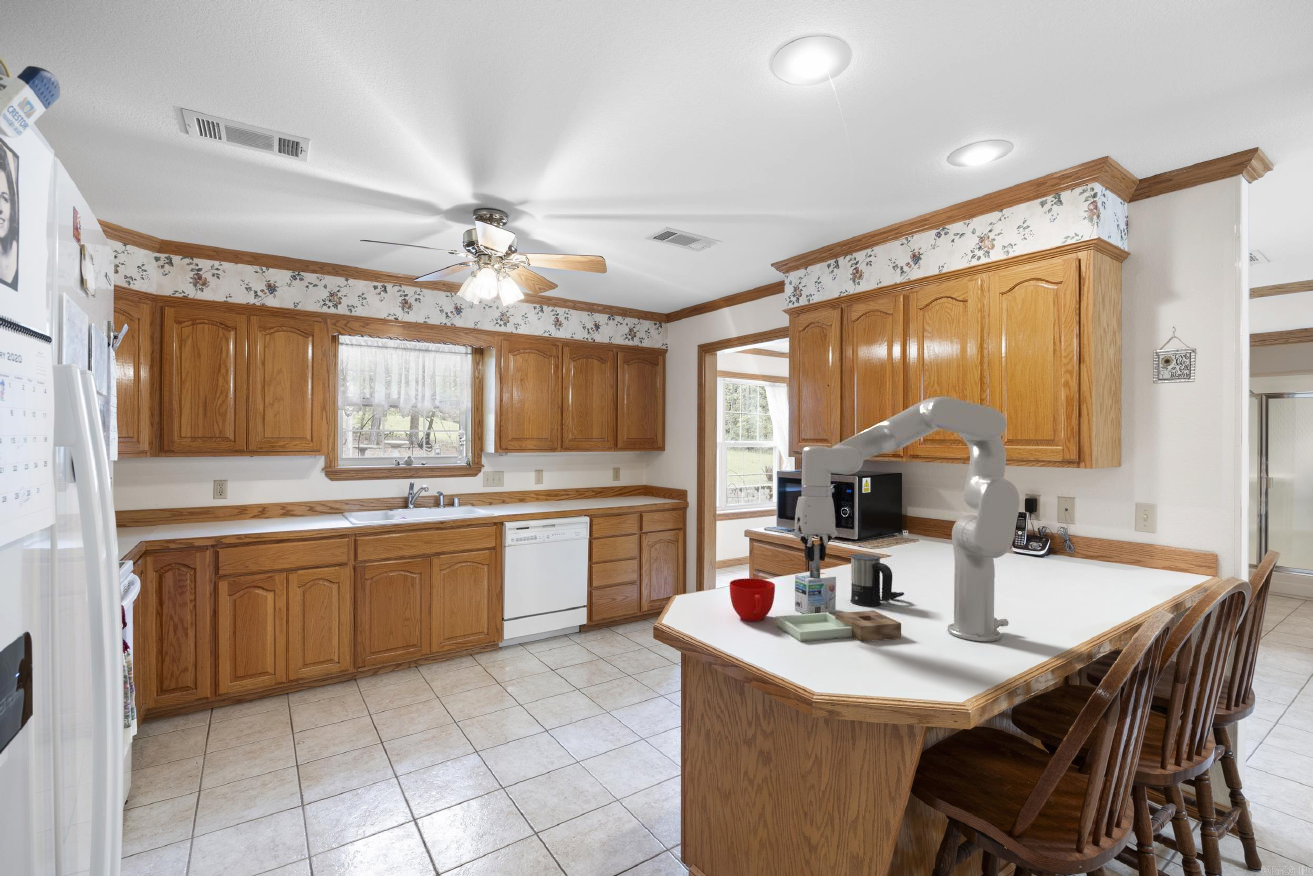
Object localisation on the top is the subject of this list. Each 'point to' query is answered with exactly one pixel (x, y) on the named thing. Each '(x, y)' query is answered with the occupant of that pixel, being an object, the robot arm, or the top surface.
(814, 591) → the light bulb box
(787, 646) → the top surface
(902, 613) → the top surface
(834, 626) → the tray
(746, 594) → the ceramic cup
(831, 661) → the top surface
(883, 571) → the milk frother
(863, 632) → the block
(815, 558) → the pin
